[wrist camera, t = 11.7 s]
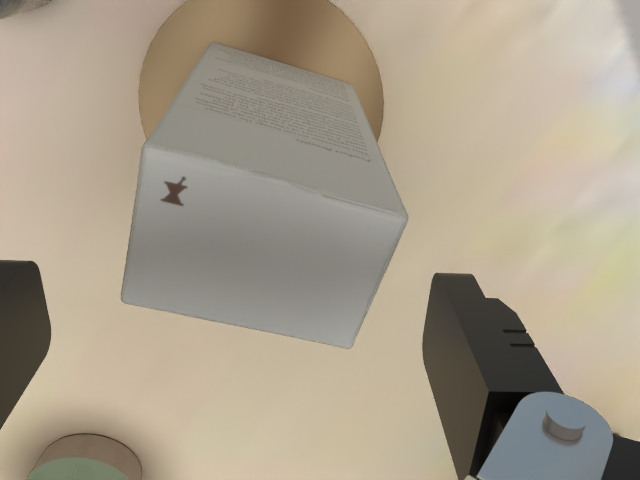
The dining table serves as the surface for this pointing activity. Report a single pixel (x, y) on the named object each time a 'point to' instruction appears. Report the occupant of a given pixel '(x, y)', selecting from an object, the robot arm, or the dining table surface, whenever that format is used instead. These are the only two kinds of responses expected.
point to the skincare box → (263, 203)
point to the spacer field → (19, 6)
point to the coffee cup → (86, 460)
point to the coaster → (259, 48)
